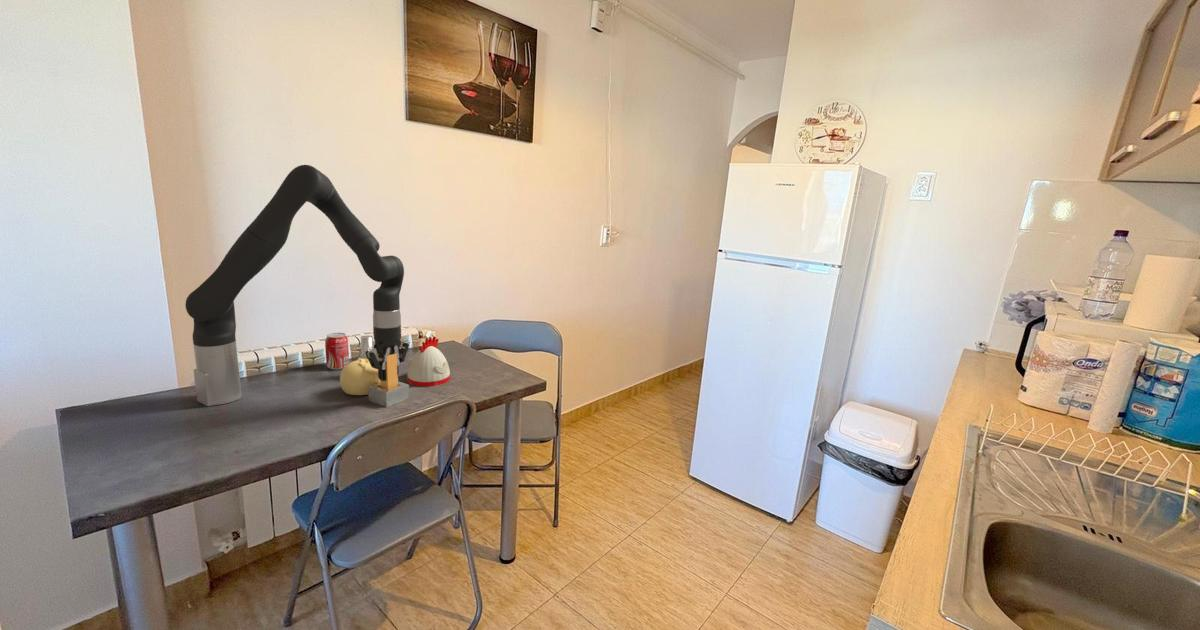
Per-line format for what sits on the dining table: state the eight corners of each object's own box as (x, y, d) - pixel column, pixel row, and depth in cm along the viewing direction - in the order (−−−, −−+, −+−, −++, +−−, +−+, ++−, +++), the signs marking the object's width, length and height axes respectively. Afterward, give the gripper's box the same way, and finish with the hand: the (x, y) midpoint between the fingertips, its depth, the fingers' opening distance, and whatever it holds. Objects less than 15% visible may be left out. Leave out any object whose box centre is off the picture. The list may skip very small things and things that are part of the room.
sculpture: (385, 395, 144) (384, 363, 142) (341, 401, 138) (339, 367, 136) (380, 383, 154) (379, 352, 151) (339, 387, 147) (337, 355, 145)
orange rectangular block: (388, 394, 139) (387, 356, 136) (380, 391, 141) (379, 354, 138) (397, 390, 142) (396, 353, 139) (390, 388, 144) (389, 351, 141)
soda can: (329, 364, 166) (327, 332, 164) (351, 363, 168) (349, 332, 166) (324, 371, 160) (322, 337, 157) (347, 370, 162) (345, 337, 159)
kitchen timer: (458, 377, 164) (458, 336, 160) (429, 389, 151) (428, 346, 148) (428, 369, 169) (428, 329, 166) (398, 380, 157) (397, 338, 154)
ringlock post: (365, 380, 154) (364, 340, 151) (354, 376, 157) (352, 337, 154) (381, 375, 160) (380, 336, 156) (370, 371, 162) (368, 333, 159)
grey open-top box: (386, 407, 137) (386, 392, 136) (369, 400, 140) (368, 386, 139) (409, 398, 144) (408, 384, 143) (391, 392, 147) (391, 378, 146)
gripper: (374, 330, 129) (376, 388, 133) (415, 321, 141) (416, 374, 145) (356, 325, 132) (359, 382, 136) (398, 317, 144) (399, 369, 148)
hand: (388, 378), depth 141 cm, fingers closed on orange rectangular block, 3 cm apart
